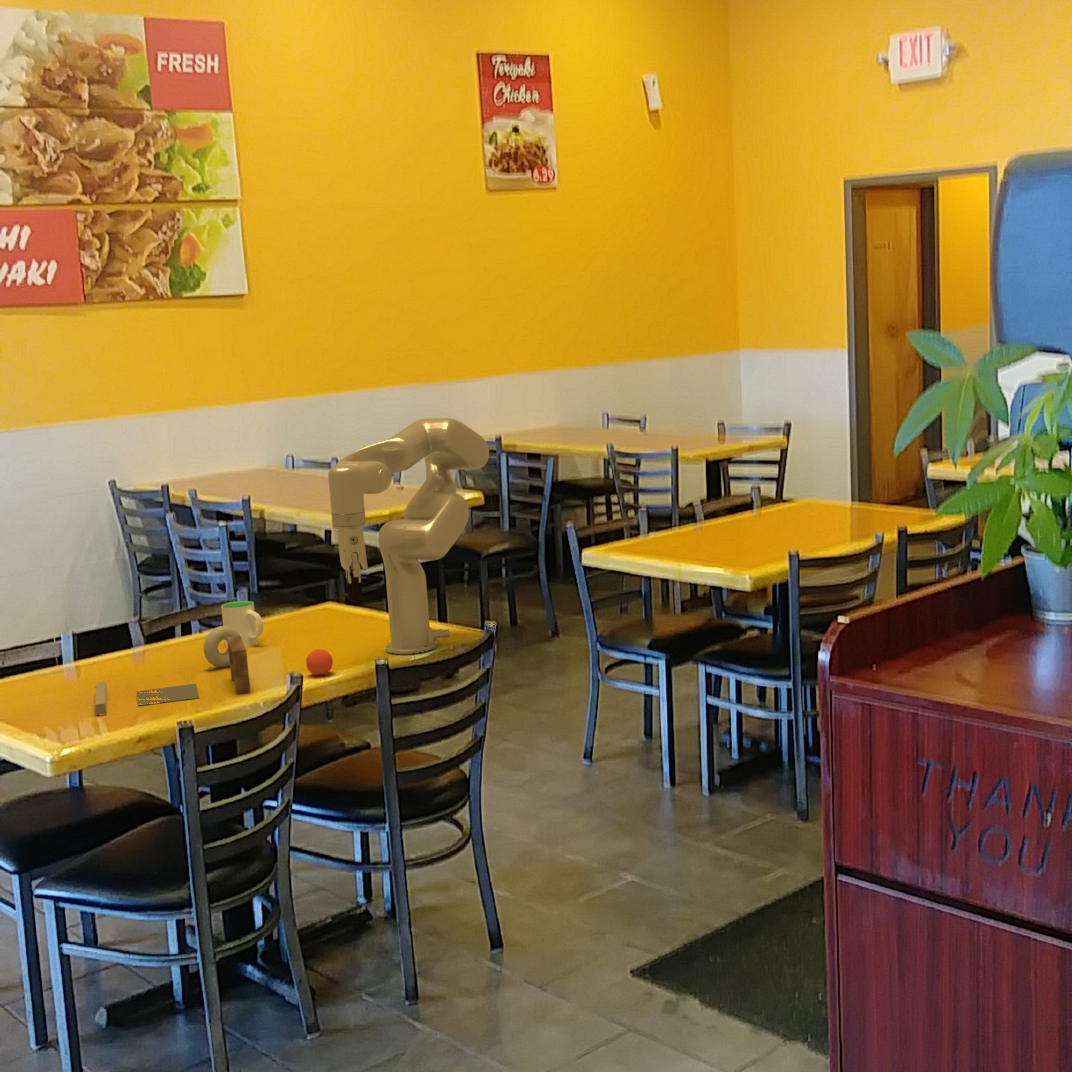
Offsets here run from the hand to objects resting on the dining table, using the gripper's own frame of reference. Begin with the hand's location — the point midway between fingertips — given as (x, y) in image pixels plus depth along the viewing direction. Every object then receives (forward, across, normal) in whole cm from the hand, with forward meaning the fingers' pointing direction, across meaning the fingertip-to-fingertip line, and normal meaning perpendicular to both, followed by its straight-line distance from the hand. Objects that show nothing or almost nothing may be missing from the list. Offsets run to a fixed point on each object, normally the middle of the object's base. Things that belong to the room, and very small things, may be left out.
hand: (355, 599), depth 322 cm
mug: (+17, +41, +22) cm, 50 cm away
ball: (+13, 0, +9) cm, 16 cm away
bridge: (+17, 0, +27) cm, 32 cm away
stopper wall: (+17, 0, +57) cm, 60 cm away
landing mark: (+17, 0, +43) cm, 46 cm away
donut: (+17, +20, +29) cm, 39 cm away
